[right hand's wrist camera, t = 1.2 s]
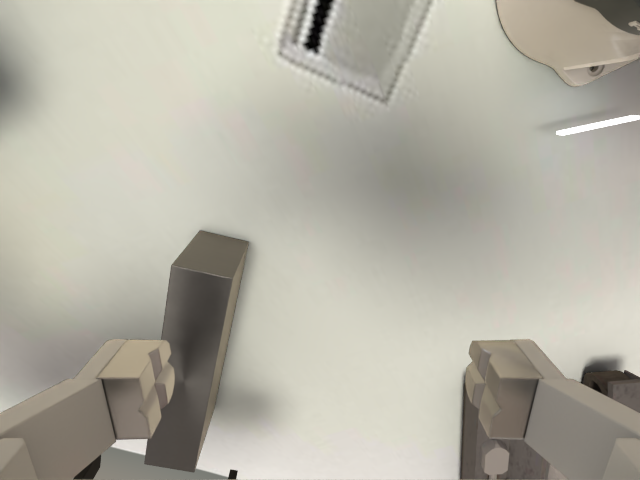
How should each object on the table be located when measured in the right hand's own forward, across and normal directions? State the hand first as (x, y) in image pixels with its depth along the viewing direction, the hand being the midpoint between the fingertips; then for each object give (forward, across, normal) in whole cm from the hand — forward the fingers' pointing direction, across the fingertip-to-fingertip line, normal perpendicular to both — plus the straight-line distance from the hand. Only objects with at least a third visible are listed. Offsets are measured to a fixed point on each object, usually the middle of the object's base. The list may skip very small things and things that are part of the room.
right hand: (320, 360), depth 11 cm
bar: (+33, -14, -20) cm, 41 cm away
